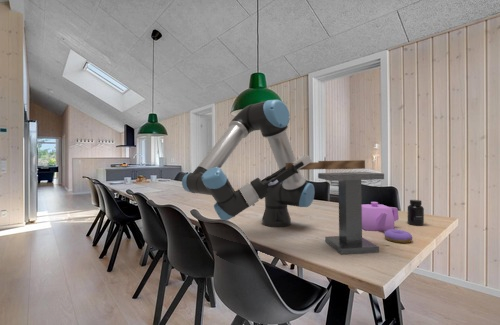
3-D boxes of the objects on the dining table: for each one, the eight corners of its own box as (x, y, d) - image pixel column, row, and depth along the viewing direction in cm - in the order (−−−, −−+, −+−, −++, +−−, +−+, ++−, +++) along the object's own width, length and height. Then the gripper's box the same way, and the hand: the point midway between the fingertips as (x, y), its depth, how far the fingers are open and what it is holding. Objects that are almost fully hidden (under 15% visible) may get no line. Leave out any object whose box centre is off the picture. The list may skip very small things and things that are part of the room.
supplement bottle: (419, 226, 120) (418, 201, 120) (404, 223, 126) (404, 200, 126) (426, 224, 123) (426, 200, 123) (412, 221, 129) (412, 198, 129)
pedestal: (333, 255, 87) (332, 175, 87) (318, 241, 101) (317, 173, 101) (386, 251, 89) (385, 173, 89) (364, 239, 103) (364, 171, 103)
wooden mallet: (289, 170, 88) (289, 161, 88) (283, 169, 97) (283, 161, 97) (364, 168, 91) (364, 160, 91) (352, 167, 100) (352, 160, 100)
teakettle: (400, 227, 120) (400, 201, 120) (386, 235, 109) (385, 206, 109) (365, 221, 133) (364, 198, 132) (349, 227, 122) (348, 202, 122)
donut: (381, 240, 101) (382, 228, 102) (386, 239, 108) (386, 227, 109) (410, 245, 95) (410, 232, 95) (413, 243, 102) (414, 231, 102)
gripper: (256, 196, 99) (305, 166, 101) (263, 204, 83) (321, 167, 85) (247, 180, 99) (296, 150, 101) (251, 184, 83) (310, 148, 85)
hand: (307, 158), depth 93 cm, fingers closed on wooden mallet, 3 cm apart
